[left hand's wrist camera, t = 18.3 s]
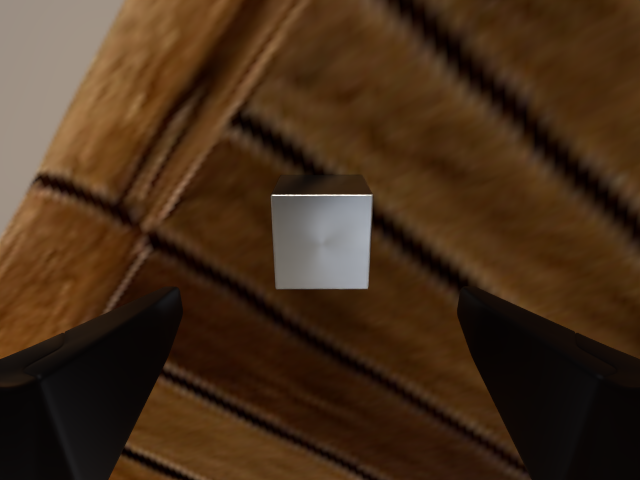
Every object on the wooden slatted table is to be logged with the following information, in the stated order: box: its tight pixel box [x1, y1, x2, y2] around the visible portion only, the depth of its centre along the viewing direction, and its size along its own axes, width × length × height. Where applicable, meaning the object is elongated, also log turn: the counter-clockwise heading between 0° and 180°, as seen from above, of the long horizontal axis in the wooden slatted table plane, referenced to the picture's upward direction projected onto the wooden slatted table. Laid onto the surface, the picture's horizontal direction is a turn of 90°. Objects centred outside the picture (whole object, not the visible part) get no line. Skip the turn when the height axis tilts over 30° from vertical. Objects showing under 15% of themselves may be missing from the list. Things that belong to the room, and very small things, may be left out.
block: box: [271, 175, 373, 289], centre depth 18 cm, size 4×5×4 cm
